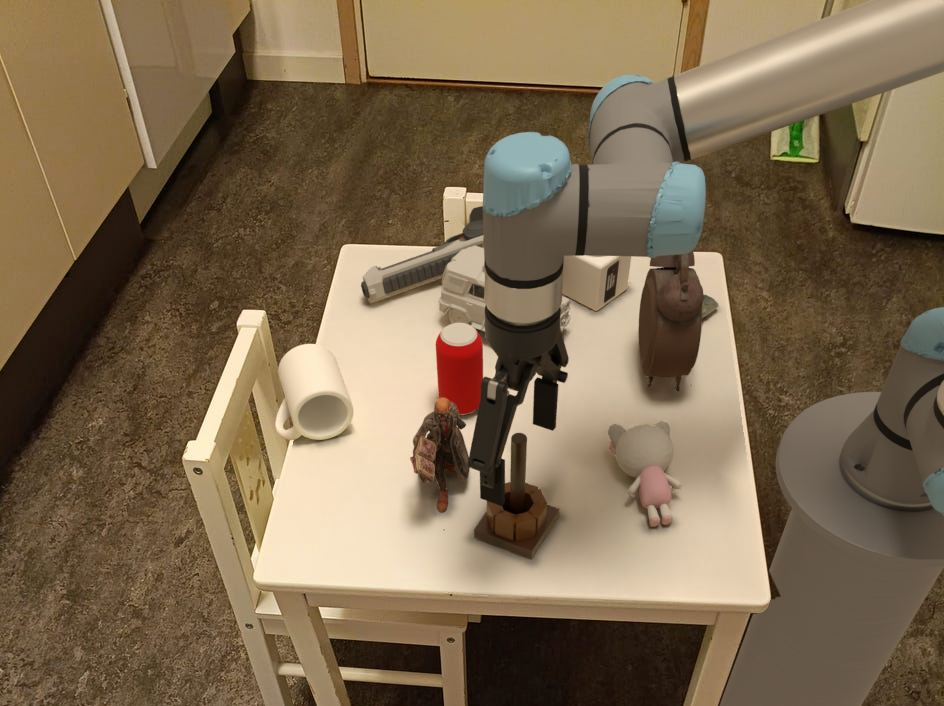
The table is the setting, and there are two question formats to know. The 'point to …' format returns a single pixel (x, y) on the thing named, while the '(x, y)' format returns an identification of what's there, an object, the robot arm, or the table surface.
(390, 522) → the table surface
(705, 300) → the stone
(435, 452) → the figurine
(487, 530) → the peg stand
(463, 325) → the beverage can
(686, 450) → the table surface
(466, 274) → the toy car
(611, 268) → the container
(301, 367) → the mug
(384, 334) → the table surface
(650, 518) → the toy
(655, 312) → the alarm clock
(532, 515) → the ring
